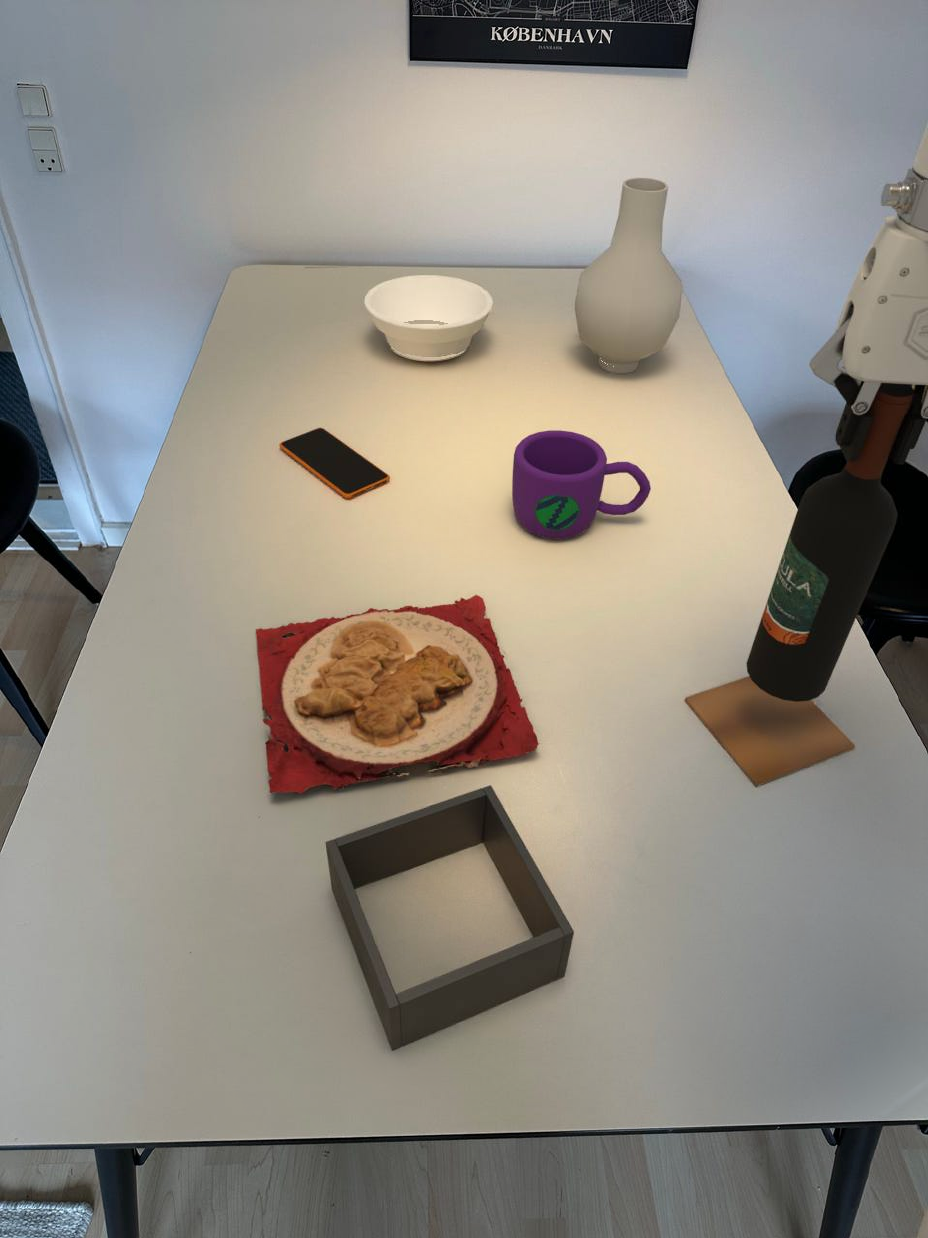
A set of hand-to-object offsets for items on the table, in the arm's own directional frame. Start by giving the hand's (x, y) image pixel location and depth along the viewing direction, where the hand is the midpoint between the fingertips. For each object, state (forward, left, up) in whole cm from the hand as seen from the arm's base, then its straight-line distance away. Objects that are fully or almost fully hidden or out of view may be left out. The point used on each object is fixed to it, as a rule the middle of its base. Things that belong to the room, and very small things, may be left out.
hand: (870, 451), depth 70 cm
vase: (+74, -27, -32) cm, 85 cm away
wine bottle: (0, 0, -25) cm, 25 cm away
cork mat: (0, 0, -32) cm, 32 cm away
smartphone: (+62, +26, -32) cm, 74 cm away
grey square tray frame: (-8, +39, -32) cm, 51 cm away
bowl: (+91, 0, -32) cm, 96 cm away
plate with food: (+19, +34, -32) cm, 51 cm away
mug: (+38, +1, -32) cm, 50 cm away
